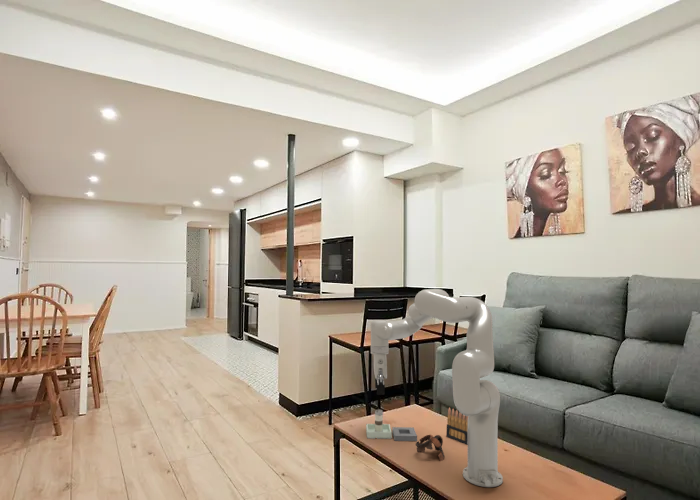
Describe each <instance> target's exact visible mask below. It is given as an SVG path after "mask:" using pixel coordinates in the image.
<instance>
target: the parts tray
mask: <svg viewBox="0 0 700 500" xmlns="http://www.w3.org/2000/svg"><path fill="white" fill-rule="evenodd" d="M365 426H366V427H365V431H366V432H365V433H366V439H375V438H377V439H381V440H383V439H385V440H387V439H389V440H392V439H393V437H392V436H393V433H392V428H391V424H390V423H383V432H375V423H366V425H365Z"/></svg>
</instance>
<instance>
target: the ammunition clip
mask: <svg viewBox="0 0 700 500" xmlns="http://www.w3.org/2000/svg"><path fill="white" fill-rule="evenodd" d="M447 411H448V412H447V417H446V418H447V424H446V435H445V437H446V438H449V439H451V440H453V441H456V442H459V443H461V444H464V445H467V446H468V416H465V415H463V414H461V413H460V412H459V411H458V410H457V409H456V410H455V409H454V408H452V410H451V407H448V409H447Z"/></svg>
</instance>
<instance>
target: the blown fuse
mask: <svg viewBox="0 0 700 500" xmlns="http://www.w3.org/2000/svg"><path fill="white" fill-rule="evenodd" d="M383 413H384V411H383V410H382V409H375V410H374V424H375V432H383V424H384V422H383V421H384V420H383V418H384V414H383Z"/></svg>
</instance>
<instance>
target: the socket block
mask: <svg viewBox="0 0 700 500" xmlns="http://www.w3.org/2000/svg"><path fill="white" fill-rule="evenodd" d="M391 432H392V436H393V439H394V440H393V441H394V442H418V435H417V432H416V430H415V428H414V427H412V426H411V427H405V426H401V427H399V426H397V427H396V426H395V427H394V426H392V428H391Z"/></svg>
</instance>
